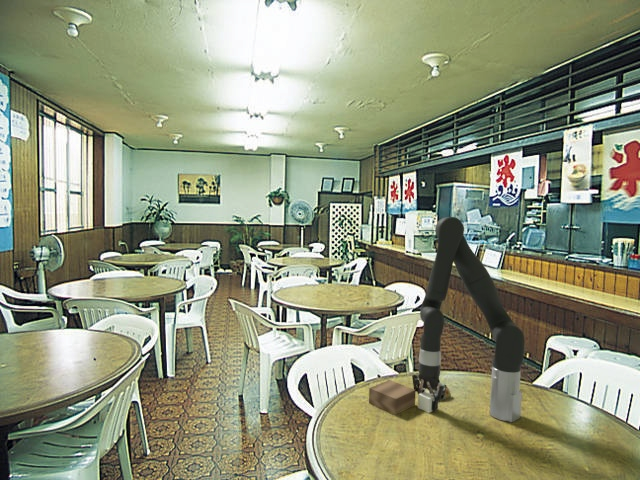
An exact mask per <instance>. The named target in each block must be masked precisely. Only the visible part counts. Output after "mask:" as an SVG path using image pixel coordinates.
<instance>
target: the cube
mask: <svg viewBox="0 0 640 480" xmlns="http://www.w3.org/2000/svg"><path fill="white" fill-rule="evenodd" d="M417 395H418V396H417V409H419V410H422V411H425V412H426V413H428V414H430V413H432V412H433V411H432V396H431V394H430V392H429V390H425V392H423V393H420V394H418V393H417Z"/></svg>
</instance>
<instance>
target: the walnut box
mask: <svg viewBox="0 0 640 480" xmlns="http://www.w3.org/2000/svg"><path fill="white" fill-rule="evenodd" d="M368 388H369V390H368V403H369V404H370V405H372V406H374V407H376V408H379V409H380V410H383V411H385V412H388V413H390V414H392V415H395V416H396V415H398V414H400V413H402V412H404V411H406V410H408V409H409V408H412V407H414V406H415V405H416V393H417V392H416V390H415V389H414V388H411V387H409V386H406V385H404V384H401V383H398V382H396V381H393V380H391V379H389V380H386V381H383V382H380V383H378V384H376V385H373V386H371V387H368Z"/></svg>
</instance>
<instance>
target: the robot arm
mask: <svg viewBox="0 0 640 480" xmlns="http://www.w3.org/2000/svg"><path fill="white" fill-rule="evenodd" d="M434 229H435V230H434V231H435V235H436V237H437V251H436V254H435V258H434V261H433V266H432V269H431V271H430V274H429V279H428V282H427V287H426V294H425V296H424V298H423V300H422V304H421V306H420V311H419V312H420V313H419V316H420V319H421V321H422V322H423V325H424V326H423V332H422V333H421V336H420V348H419V349H420V350H419V356H418V373H415V374H412V376H411V378H412V384H413V385H412V386H413V389H415V390H416V393H417V395H418V394H420V393H423V392H426V391H428V392H430V394H431V396H432V412H435V411H436V410H438V409H439V402H440V401H442V400H444V399H443V398H444V395H445V391H446V388H447V387H448V386H447V384H443V383H441V381H440V376H441V363H442V362H441V361H442V359H441V358H442V355H441V353H442V352H441V347H442V346H441V345H442V342H441V341H442V335H443V332H444V326H445V325H444V324H445V316H444V314H443V312H442V310H441V307H442V303H443V301H446V299H447V295H448V290H449V286H450V280H451V276H452V275H451V274H452V270H453V265H454V266H455V268H456V271H457V273H458V275H459V277H460V279H461V281H462V284H463V285H464V287H465V289H466V291H467V293H468V294H469V296H470V297H471V298H472V300H473V302H474V303H475V304H476V306H477V308H479V310H480V312H482V314H483V316H484V318H485V320H486V323H487V324H488V328H489V330H490V332H491V335H492V337H493V339H494V341H495V347H494V355H493V356H494V357H493V358H492V362H491V364H492V365H491V377H490V394H489V395H490V396H489V397H490V398H489V399H490V400H489V414H490V416H492V417H493V418H495V419H497V420H500V421H504V422H509V423H514V422H515V421H518V420H519V419H521V413H522V398H523V397H522V395H523V392H522V391H521V390H520V387H521V372H522V371H521V369H522V365H523V361H524V354H525V344H526V343H525V339H526V338H525V334H524V333H523V330H522V329H521V328H520V327H519V326H518V325H517V324H516V323H515V322H514V321H513V319H512V318H511V317H510V315H509V314H508V312H507V310H506V309H505V308H504V306H503V304H502V301H501V297H500V295H499V292H498V289H497V287H496V285H495V283H494V280H493V278H492V276H491V275H490V273H489V271H488V270H487V268H486V266H485V265H484V264H483V263H482V261H481V260H480V258H479V257H478V256H477V255H476V254H475V253H474V251H473V250H472V248H471V247H470V245H469V243H468V242H467V240H466V237H465V234H464V233H465V226H464V223H463V222H462V220H460V219H459V218H458V217H455V216H446V217H442V218H440V219H439V220H438V221H437V223H436V225H435V228H434ZM437 386H438V387H439V388H438V387H437ZM433 390H434V391H433ZM438 390H439V391H438Z"/></svg>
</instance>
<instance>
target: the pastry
mask: <svg viewBox="0 0 640 480" xmlns="http://www.w3.org/2000/svg"><path fill="white" fill-rule="evenodd" d="M437 387H438V386H437ZM438 388H439V387H438ZM433 391H434V390H433ZM438 391H439V390H438ZM451 395H452V393H451V391H450V390H449V387H448V386H447V388H446V391H445V395H444V398H443V400H445V399H448V398H450V397H451Z"/></svg>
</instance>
